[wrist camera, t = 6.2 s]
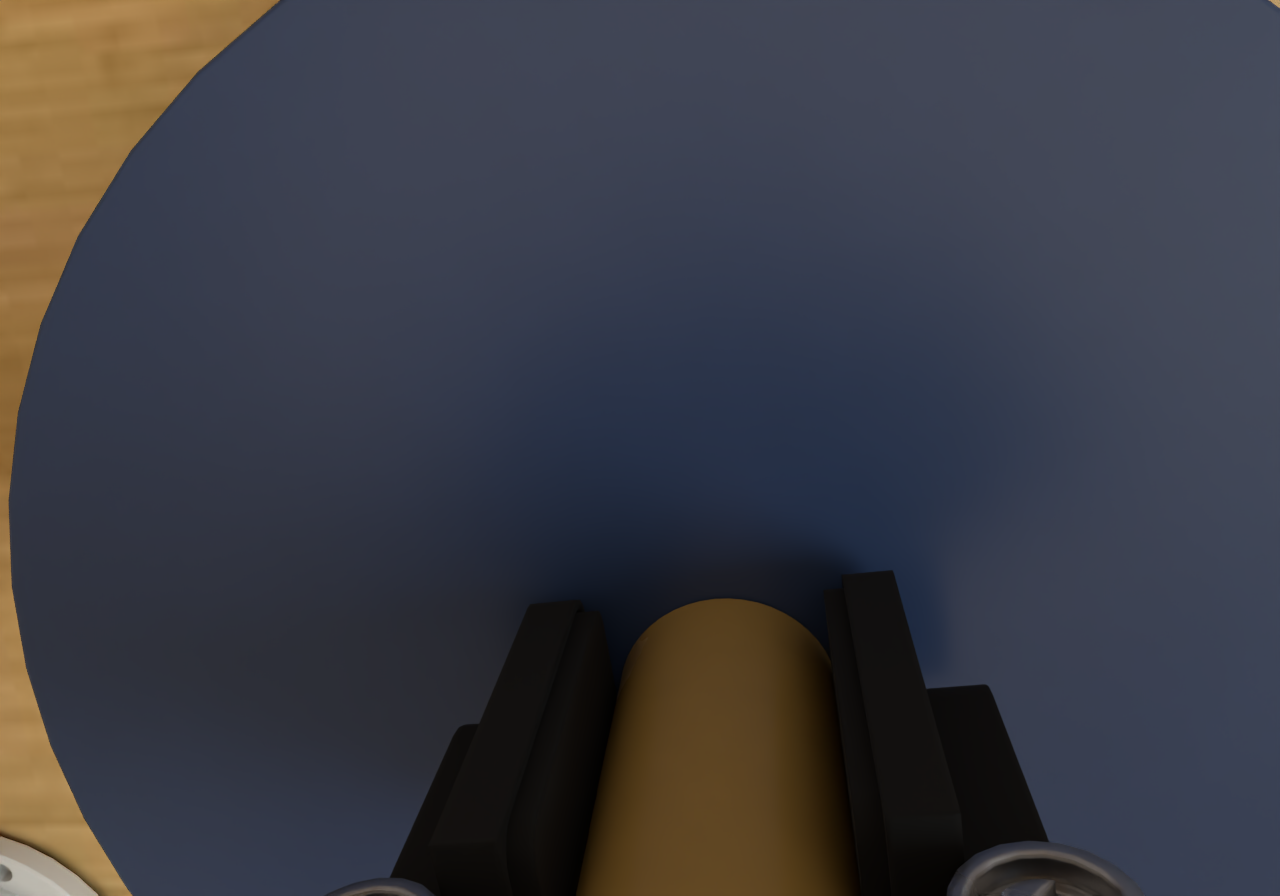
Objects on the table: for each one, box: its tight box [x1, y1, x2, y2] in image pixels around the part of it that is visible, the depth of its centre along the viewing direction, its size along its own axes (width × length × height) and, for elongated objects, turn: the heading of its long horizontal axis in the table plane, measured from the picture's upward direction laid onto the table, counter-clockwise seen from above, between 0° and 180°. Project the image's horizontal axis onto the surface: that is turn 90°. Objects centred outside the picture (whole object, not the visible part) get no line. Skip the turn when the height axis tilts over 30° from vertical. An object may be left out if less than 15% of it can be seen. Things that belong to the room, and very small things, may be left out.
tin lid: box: [9, 0, 1280, 896], centre depth 10 cm, size 17×17×6 cm
